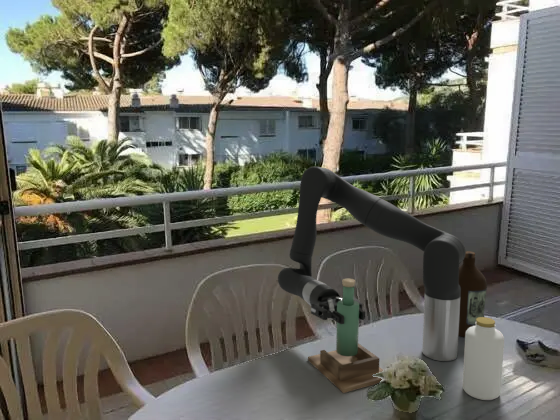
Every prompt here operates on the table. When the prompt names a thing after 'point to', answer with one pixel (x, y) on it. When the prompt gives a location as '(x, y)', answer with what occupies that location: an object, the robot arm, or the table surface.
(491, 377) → the potion bottle
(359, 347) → the bottle rest
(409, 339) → the table surface
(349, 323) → the bottle
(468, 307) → the olive oil
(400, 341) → the table surface
